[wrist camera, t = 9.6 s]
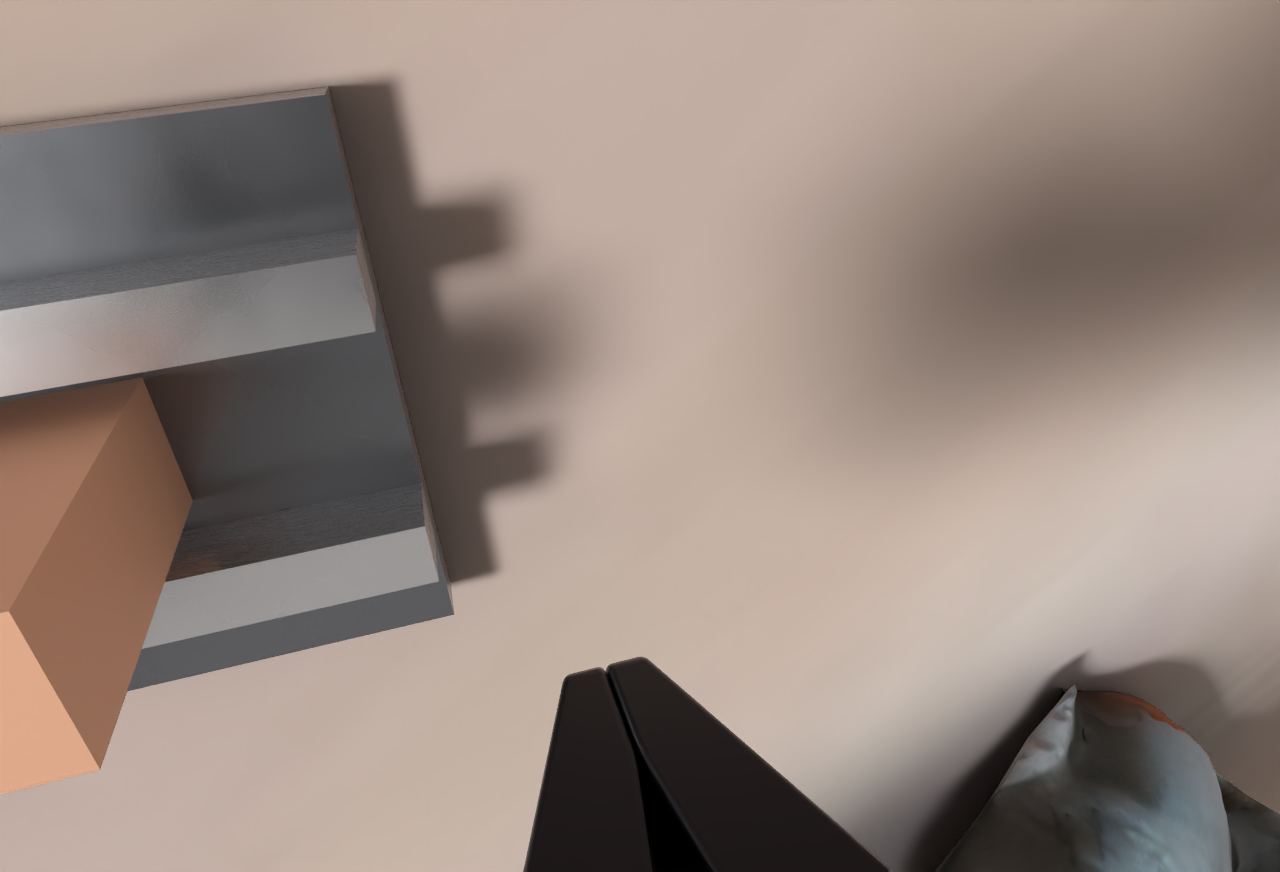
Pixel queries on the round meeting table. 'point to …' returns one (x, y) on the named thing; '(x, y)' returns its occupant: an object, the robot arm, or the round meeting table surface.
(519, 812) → the round meeting table surface
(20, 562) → the tan flat rectangular block
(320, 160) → the track base
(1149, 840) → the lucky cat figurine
